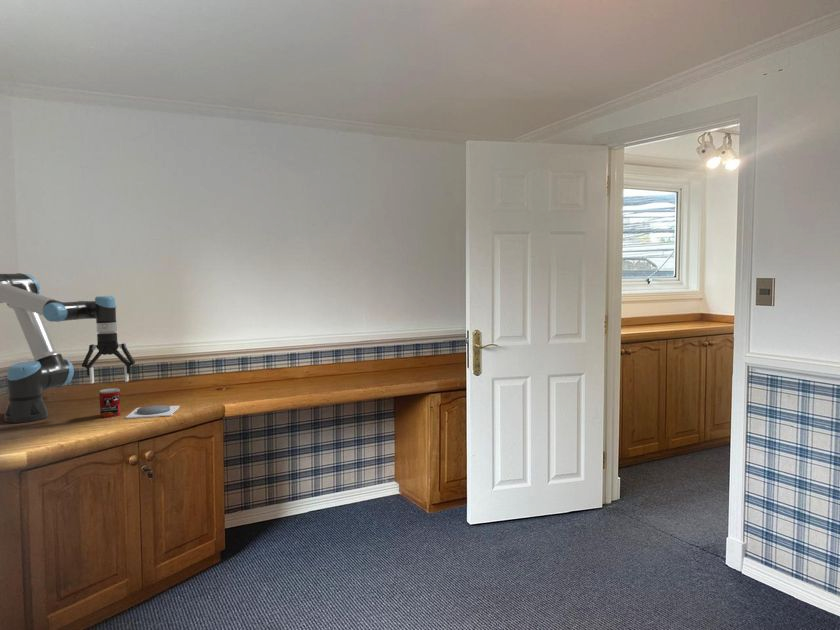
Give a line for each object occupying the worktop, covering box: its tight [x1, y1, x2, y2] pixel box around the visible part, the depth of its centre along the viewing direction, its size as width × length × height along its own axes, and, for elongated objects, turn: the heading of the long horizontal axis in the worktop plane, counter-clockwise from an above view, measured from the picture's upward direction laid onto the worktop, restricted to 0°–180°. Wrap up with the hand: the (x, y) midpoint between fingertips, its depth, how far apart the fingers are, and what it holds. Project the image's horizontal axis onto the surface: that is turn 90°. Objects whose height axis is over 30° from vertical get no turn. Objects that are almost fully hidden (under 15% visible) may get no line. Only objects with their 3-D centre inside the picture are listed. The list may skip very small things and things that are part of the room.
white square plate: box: [125, 404, 180, 420], centre depth 256 cm, size 18×18×2 cm
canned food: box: [98, 387, 122, 418], centre depth 251 cm, size 8×8×11 cm
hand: (109, 382), depth 251 cm, fingers open, 13 cm apart
